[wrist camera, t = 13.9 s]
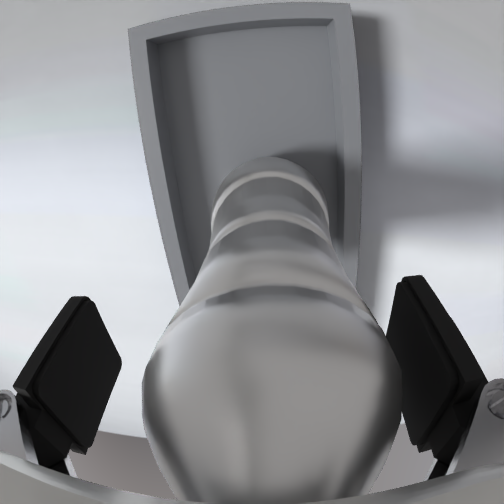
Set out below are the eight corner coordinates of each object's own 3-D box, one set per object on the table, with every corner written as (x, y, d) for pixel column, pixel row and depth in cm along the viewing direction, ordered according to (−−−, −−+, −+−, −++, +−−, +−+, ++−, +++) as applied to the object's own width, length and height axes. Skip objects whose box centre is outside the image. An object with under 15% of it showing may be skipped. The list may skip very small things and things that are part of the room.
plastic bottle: (329, 157, 18) (557, 547, 1) (310, 255, 21) (364, 598, 4) (222, 144, 18) (-23, 572, 1) (215, 244, 21) (127, 590, 4)
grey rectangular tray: (144, 35, 15) (127, 29, 13) (339, 14, 14) (349, 3, 12) (201, 341, 26) (196, 363, 24) (342, 333, 26) (347, 355, 23)
